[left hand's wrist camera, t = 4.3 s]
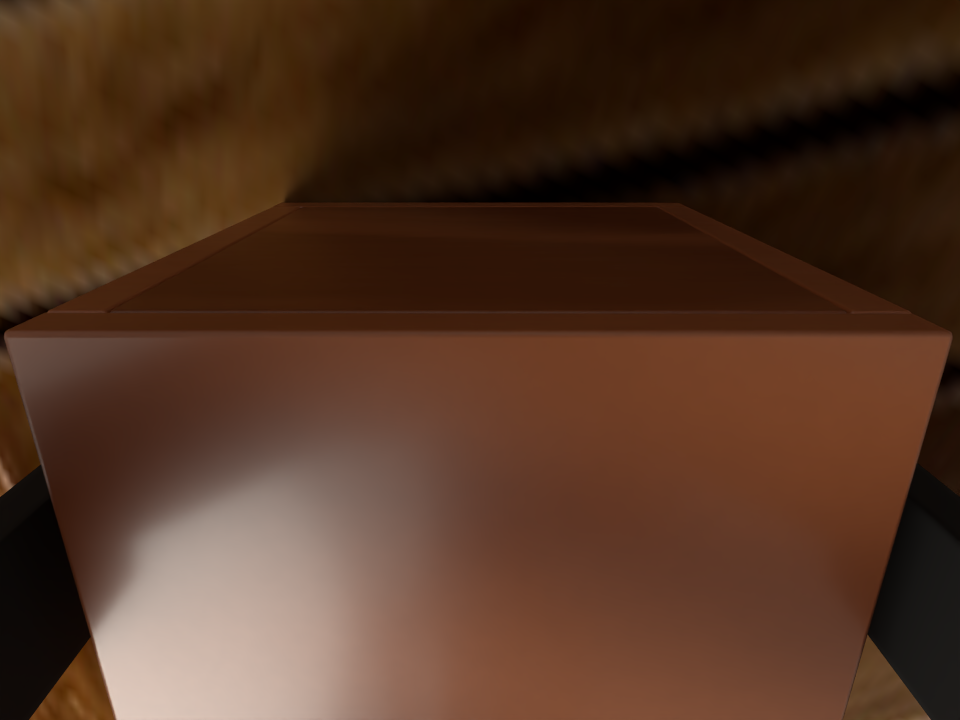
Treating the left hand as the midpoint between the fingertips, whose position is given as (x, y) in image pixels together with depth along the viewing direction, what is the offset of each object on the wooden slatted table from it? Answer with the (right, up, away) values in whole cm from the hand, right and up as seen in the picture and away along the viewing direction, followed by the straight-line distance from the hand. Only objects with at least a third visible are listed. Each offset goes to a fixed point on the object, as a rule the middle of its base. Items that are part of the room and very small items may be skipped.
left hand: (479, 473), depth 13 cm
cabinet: (0, -2, +9) cm, 9 cm away
